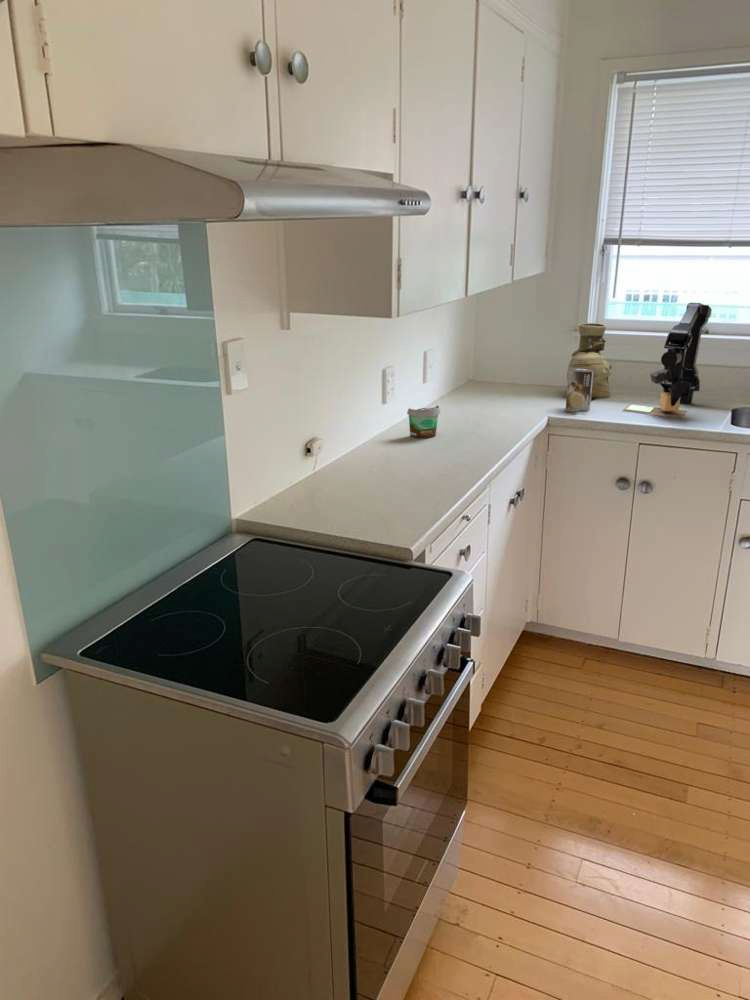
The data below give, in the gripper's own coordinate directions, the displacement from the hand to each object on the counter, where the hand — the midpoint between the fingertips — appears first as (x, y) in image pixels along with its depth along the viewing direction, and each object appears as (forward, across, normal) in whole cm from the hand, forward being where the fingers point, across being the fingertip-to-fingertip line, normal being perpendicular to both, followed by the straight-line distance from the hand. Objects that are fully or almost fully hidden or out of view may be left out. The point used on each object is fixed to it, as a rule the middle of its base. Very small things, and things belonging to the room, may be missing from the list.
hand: (669, 404), depth 286 cm
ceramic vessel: (+5, -34, -20) cm, 40 cm away
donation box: (+2, 0, 0) cm, 2 cm away
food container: (+5, +28, -97) cm, 101 cm away
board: (+4, -3, -4) cm, 7 cm away
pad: (+3, -6, -9) cm, 11 cm away
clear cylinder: (+3, 0, 0) cm, 3 cm away
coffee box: (+5, -9, -33) cm, 34 cm away
